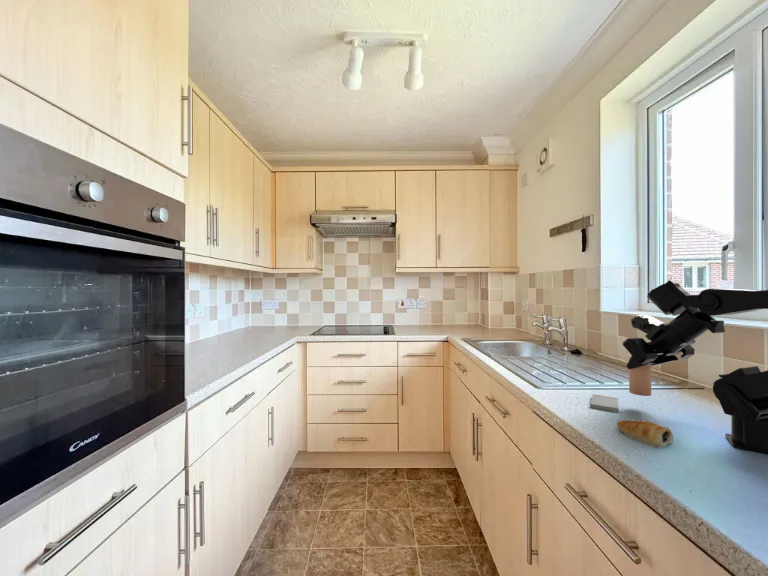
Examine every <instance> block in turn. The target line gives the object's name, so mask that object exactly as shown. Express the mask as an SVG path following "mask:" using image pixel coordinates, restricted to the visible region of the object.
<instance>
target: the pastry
mask: <svg viewBox="0 0 768 576" xmlns="http://www.w3.org/2000/svg"><path fill="white" fill-rule="evenodd" d="M616 424H617V428H618V431H619V432H620V433H622V434H624V433H625V434H624V435H628V436H627V437H629V438H630V437H631V438H630V439H632V438H633V439H632V440H635V439H636V441H638V442H640V441H641V442H640V443H642V442H643V444H646V445H647V446H650V445H651V447H653V446H654V448H658V447H660V448H664V447H666V446H667V445H669V444H671V443H673V442H674V434H673V432H672V430H671V428H669V427H668V426H661V425H659V424H657V423H655V422H651V421H644V420H629V419H628V420H627V419H626V420H623V419H622V420H619V421H617V423H616Z"/></svg>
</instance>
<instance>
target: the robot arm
mask: <svg viewBox="0 0 768 576" xmlns="http://www.w3.org/2000/svg"><path fill="white" fill-rule="evenodd" d="M647 298H648V300H650V301H651V303H652V304H654V305H655V306H656V307H657V308H658V309H659V310H660V311H661V312H662V313H663V314H664V315H666V316H670V315H672V316H674V317H675V316H676V317H675V318H674V319H672V320H671V321H670V322H668V323H665V322H664V321H661V320H659V319H657V318H656V317H653V316H651V315H649V314H638V315H634V317H633V318H631V320H630V322H631V323H630V324H631V326H632V328H634V329H638V330H639V331H640V332H643V333H645V338H647V340H648V341H646V340H645V339H644V338H643V337H628V338H626V339H625V340H623V342H622V346H623V347H624V348H625V350H627V353H628V354H629V353H630V354H631V355H632V356H631V358H630V360H629V359H628V362H627V364H626V367H627V370H629V369H634V368H638V367H642V366H646V365H650V364H651V367H652V366H657V365H663V364H666V363H667V364H669V363H671V362H677V361H679V358H680V359H681V360H686V359H690V358H691V357H693V356H694V355H695V348H694V347H693V345H694V344H695V343H696V339H698V338H699V337H701V335H703V334H705V333H706V332H707V331H710V332H711V333H712V334H722V333H723V334H724V333H725V332H726V329H725V325H724V324H725V321H724V320H717V319H716V318H715V317H713V316H731V315H736V314H737V315H738V314H744V313H749V312H755V311H761V310H766V309H768V289H764V290H763V289H762V290H754V289H741V288H740V289H739V288H706V289H703V290H701V291H700V292H699V294H690V293H689V292H688V291H687V290H686V289H684V288H683V286H681V285H680V283H679V282H678V281H676V280H675V279H674V280H671V279H669V280H668V281H666V282H665V283H662V284H660V285H658V286H657V287H655V288H652V289H651V290H650V291H649V292H648V294H647ZM680 354H681V355H680ZM676 355H680V356H679V358H678V357H677V356H676ZM718 377H720V378H718V379H716V380H714V381H713V383H712V384H713V386H712V392H713V394H714V396H715V398H716V399H717V400H718V401H719V403H720V406H721V408H722V411H723V413H724V414H726V415H728V416H731V417H730V418H731V419H730V421H731V423H730V425H731V426H730V428H731V429H730V431H731V432H730V433H725V435H724V436H725V438H726V439H727V440H728V441H729V443H730V445H732V447H733V448H737V449H743V450H747V451H753V452H758V453H764V454H768V369H767V370H765V371H761V369H760V368H759V366H757V365H756V366H755V365H754V366H747V367H746V366H745V367H739V368H737V369H735V370H733V371H732V372H730V373H724V374H718Z"/></svg>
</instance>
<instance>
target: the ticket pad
mask: <svg viewBox="0 0 768 576" xmlns="http://www.w3.org/2000/svg"><path fill="white" fill-rule="evenodd" d="M591 397H592V398H591V402H590V408H591V409H597V410H602V411H606V412H607V411H609V412H615V413H619V398H618V397H616V396H611V395H605V394H598V393H593V394H592V396H591Z"/></svg>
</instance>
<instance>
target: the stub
mask: <svg viewBox="0 0 768 576" xmlns="http://www.w3.org/2000/svg"><path fill="white" fill-rule="evenodd" d="M631 356H632V355H631V354H630V353H629V352H628V361H629V360H630V358H631ZM628 389H629V390H628V392H629V393H630V394H632V395H637V396H640V397H641V396H642V397H650V396H652V366H651V364H650V365H646V366H642V367H638V368H634V369H628Z"/></svg>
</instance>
